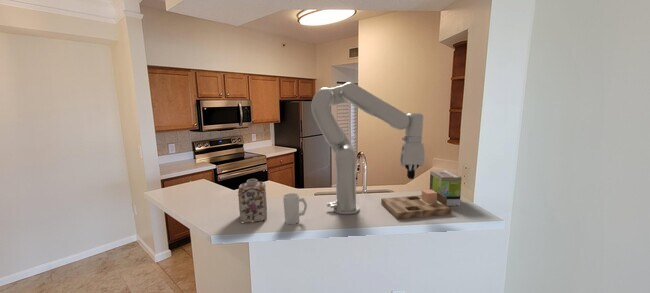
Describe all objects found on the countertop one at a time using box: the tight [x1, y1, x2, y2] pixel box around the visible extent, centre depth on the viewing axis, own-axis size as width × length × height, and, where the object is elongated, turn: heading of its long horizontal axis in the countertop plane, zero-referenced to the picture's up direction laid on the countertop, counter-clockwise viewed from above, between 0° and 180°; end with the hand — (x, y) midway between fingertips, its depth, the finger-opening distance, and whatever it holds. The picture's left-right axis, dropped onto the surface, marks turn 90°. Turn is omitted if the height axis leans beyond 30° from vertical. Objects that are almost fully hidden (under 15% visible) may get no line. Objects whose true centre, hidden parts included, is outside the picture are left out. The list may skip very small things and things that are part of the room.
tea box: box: [429, 170, 462, 207], centre depth 134 cm, size 15×10×15 cm, turn 179°
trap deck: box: [380, 189, 452, 220], centre depth 125 cm, size 26×19×7 cm
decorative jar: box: [237, 178, 268, 224], centre depth 120 cm, size 12×12×18 cm
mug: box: [282, 192, 308, 225], centre depth 115 cm, size 10×7×12 cm, turn 90°
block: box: [421, 189, 437, 204], centre depth 126 cm, size 5×5×5 cm
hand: (410, 178), depth 123 cm, fingers closed
